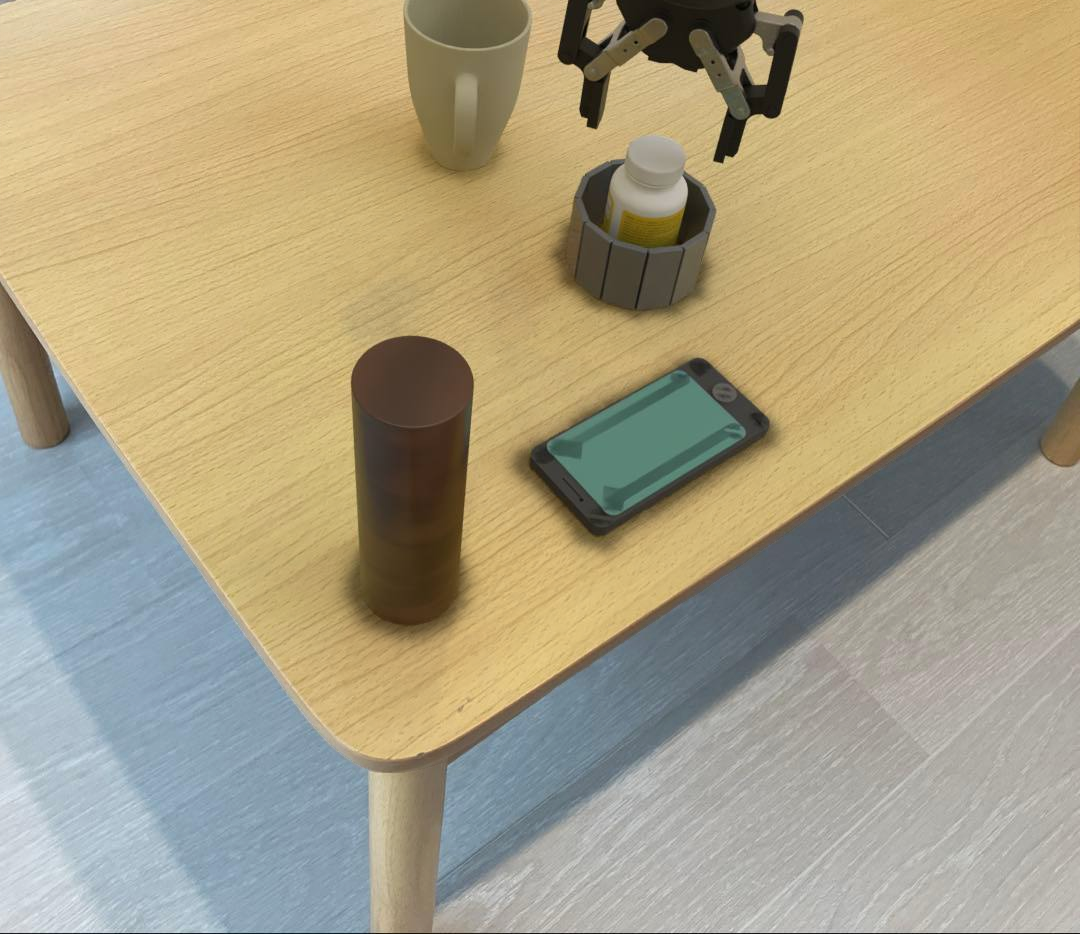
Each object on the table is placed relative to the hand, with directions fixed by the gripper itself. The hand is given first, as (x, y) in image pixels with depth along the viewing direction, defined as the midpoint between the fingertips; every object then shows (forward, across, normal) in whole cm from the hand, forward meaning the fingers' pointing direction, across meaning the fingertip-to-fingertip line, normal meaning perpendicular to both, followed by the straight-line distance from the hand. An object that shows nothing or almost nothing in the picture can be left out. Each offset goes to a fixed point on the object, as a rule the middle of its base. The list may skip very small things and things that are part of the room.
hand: (657, 138), depth 77 cm
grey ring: (+11, 0, 0) cm, 11 cm away
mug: (+11, -15, +6) cm, 20 cm away
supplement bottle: (+11, 0, 0) cm, 11 cm away
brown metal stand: (+11, -6, -31) cm, 33 cm away
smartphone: (+11, +5, -16) cm, 20 cm away
